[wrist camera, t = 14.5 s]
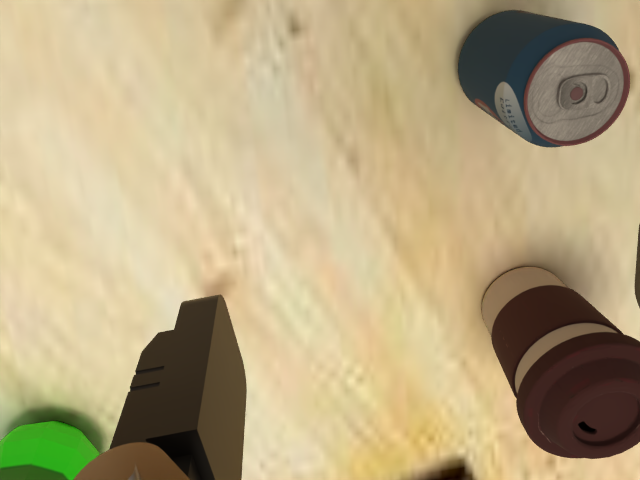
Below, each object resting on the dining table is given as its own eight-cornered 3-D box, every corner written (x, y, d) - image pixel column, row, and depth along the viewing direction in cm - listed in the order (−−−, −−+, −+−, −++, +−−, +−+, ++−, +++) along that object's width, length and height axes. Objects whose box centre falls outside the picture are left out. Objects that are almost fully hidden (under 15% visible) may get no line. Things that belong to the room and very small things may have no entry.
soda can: (452, 113, 44) (511, 163, 33) (452, 14, 41) (518, 33, 30) (543, 102, 44) (632, 149, 33) (550, 3, 41) (651, 19, 30)
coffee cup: (566, 234, 49) (679, 339, 35) (583, 326, 53) (688, 451, 40) (453, 273, 50) (520, 389, 36) (478, 360, 54) (547, 494, 40)
